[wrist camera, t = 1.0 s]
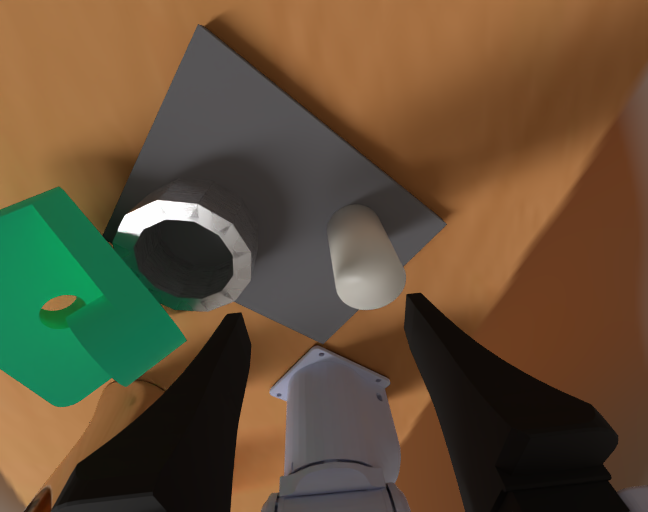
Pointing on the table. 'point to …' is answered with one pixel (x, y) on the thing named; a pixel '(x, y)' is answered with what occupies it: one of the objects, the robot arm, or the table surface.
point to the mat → (267, 184)
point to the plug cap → (363, 259)
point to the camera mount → (83, 314)
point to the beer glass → (98, 434)
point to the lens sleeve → (175, 273)
